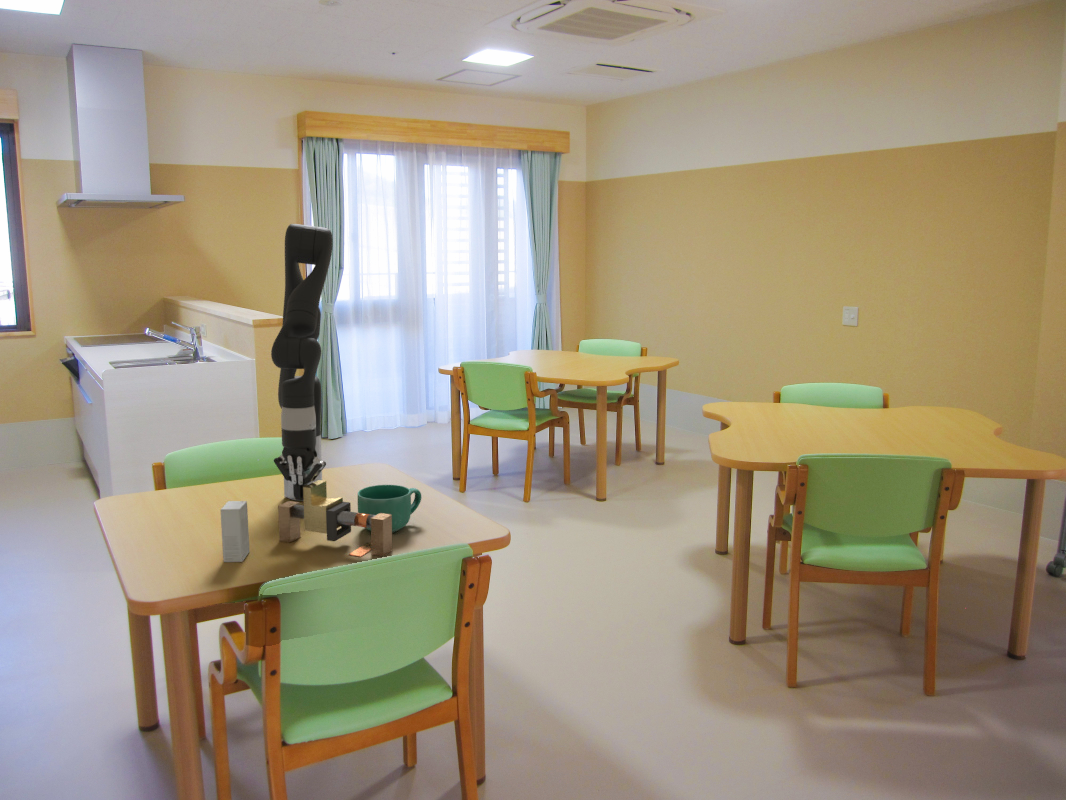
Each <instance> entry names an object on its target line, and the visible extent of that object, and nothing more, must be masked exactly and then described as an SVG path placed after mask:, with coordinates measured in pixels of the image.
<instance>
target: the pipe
mask: <svg viewBox="0 0 1066 800" xmlns="http://www.w3.org/2000/svg"><path fill="white" fill-rule="evenodd" d="M277 507H278V508H277V509H278V513H277V514H278V537H279V538H278V539H279V540H278V541H279V542H284V543H292V542H294V541H296V540H298V539H300V538H301V519H302V520H304V504H303V505H302V504H301V503H300V501H299V502H298V501H294V500H287V501H284V502H283V503H281V504H278V506H277ZM336 516H337V524H344V525H351V527H358V528H359V527H360V528H364V527H365V528H364V529H366V528H371V531H370V537H371V538H370V539H371V540H370V542H365V543H364V544H363V545H361V546H359V547H358V548H357V549H355V550H353V551H352V552H350V553H349V554H348V556H351V557H359V558H361V557H363V556H365V555H366V554H368V553H369V552H370V551H371V556H377V557H382V556H384V557H385V556H386V555H388V554H390V553H391V552H392V551H393V533H392V515H391V514H384V513H379V514H377V515H371V514H363V513H358V512H354V511H351V512H348V511H342V512H340V513H338V514H336ZM391 550H392V551H391ZM390 551H391V552H390Z"/></svg>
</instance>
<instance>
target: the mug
mask: <svg viewBox="0 0 1066 800" xmlns="http://www.w3.org/2000/svg"><path fill="white" fill-rule="evenodd" d="M413 494H414V498H413V501H412V495H413ZM421 501H422V493H421V491H420V490H419V489H418V488H415V487H410V488H408V487H406V486H403V485H397V484H377V485H371V486H367V487H364V488H362V489H359V490H358V491H357V513H363V514H371V515H377V514H379V513H384V514H391V515H392V532H393V533H396V532H398V531H399V530H400V529H402V528H404V527H405V526H407V525H408V523H410V520H411V516H412V514H414V512H416V510H417V508H419V505H420V504H421ZM363 528H364V529H366V530H367V531H370V532H371V528H365V527H363ZM397 530H398V531H397ZM395 531H396V532H395Z"/></svg>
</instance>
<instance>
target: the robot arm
mask: <svg viewBox="0 0 1066 800" xmlns="http://www.w3.org/2000/svg"><path fill="white" fill-rule="evenodd" d="M333 239H334V238H333V234H332V231H331V230H330V229H329V228H326V227H324V226H323V227H322V226H316V225H315V226H314V225H307V224H299V223H291V224H289V225H288V226H287V228H286V230H285V236H284V298H283V311H282V325H281V328H280V330H279V332H278V334H277V336H276V338H275V340H274V341H273V344H272V347H271V352H270V355H271V361H272V363H273V364H274V366H275V367H276V368H278V369H280V371H279V379H278V391H277V392H278V393H277V395H278V396H277V398H278V399H277V400H278V404H279V407H280V409H281V413H280V420H281V422H280V423H281V424H280V425H281V427H280V428H281V446H282V451H281V455H279V456H277V457H275V458H274V459H273V463H274V464H275V465H276V467H277V469H278V470H279V472H280V474H281V475H282V477H283V492H284V498H287V499H289V500H290V501H295V502H298V501H299V502H300V501H301V502H304V496H303V487H304V486H307V485H309V484H311V483H313V482H315V481H318V480H323V470H324V468H325V467H326V465H327V463H326V461H325V460H322V456H323V455H322V428H321V427H322V426H321V425H322V416H321V415H322V383H321V381H320V379H319V378H318V376H317V372H318V367H319V364H320V361H321V357H322V347H321V345H320V343H319V341H318V339H319V337H320V332H321V319H322V314H321V309H320V301H321V297H322V293H323V289H324V286H325V282H326V279H327V275H328V271H329V268H330V263H331V259H332V256H333V255H332V253H333V243H334V242H333ZM300 264H304V265H311V266H312V265H314V267H313V269H312V270H311V272H310V273H309V274H308V275H307V276H306V277H305V278H304V279H303V276H302V273H301V269H300ZM297 370H303V374H302V375H296V373H297Z"/></svg>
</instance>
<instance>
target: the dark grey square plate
mask: <svg viewBox="0 0 1066 800" xmlns="http://www.w3.org/2000/svg"><path fill="white" fill-rule="evenodd" d="M351 508H352V507H351V502H348V501H343V502H341V503H339V504H337V505H335V506H333V507H332V508H330V509H328V510H326V525H327V534H326V540H327V541H328V542H329V541H330V542H336V541H338V540H339V539H342V538H343V537H345V536H347V535H348V534H350V533H351V532H352V526H351V525H344V524H341V526H340V527H339V529H338V528H337V516H336V514H338V513H340V512H342V511H348V512H352V511H351V510H352V509H351Z"/></svg>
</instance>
